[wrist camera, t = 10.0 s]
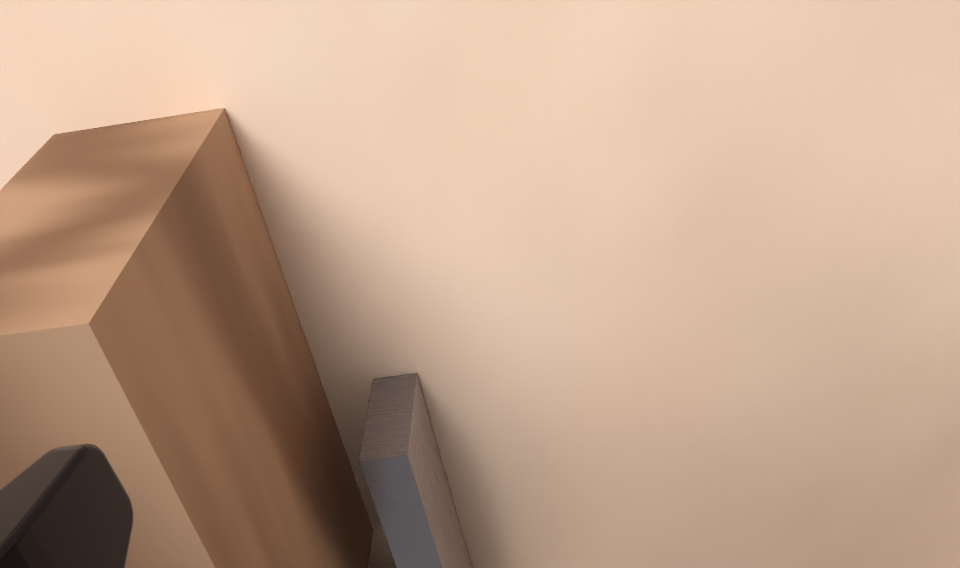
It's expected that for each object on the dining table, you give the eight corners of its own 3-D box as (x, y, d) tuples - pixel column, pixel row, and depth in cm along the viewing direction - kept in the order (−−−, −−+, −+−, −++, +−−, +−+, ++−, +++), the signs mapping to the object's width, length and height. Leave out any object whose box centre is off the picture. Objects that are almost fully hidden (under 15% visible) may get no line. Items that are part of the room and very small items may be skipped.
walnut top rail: (226, 105, 20) (88, 323, 13) (373, 527, 27) (334, 798, 21) (56, 132, 20) (-161, 356, 13) (249, 539, 28) (172, 808, 21)
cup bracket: (416, 373, 24) (405, 467, 21) (477, 589, 29) (475, 687, 26) (86, 415, 25) (33, 510, 22) (201, 616, 30) (170, 714, 27)
